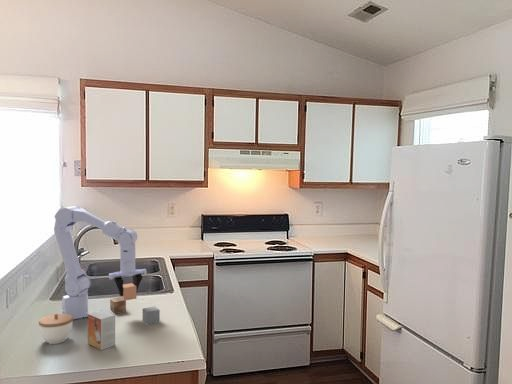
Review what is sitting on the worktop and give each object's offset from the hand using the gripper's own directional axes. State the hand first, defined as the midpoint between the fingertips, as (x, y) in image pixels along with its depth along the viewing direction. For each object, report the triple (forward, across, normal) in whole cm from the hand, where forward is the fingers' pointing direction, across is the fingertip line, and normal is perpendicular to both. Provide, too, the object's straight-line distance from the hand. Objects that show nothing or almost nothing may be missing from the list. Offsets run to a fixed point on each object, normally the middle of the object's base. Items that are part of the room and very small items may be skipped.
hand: (128, 294), depth 173 cm
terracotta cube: (+1, 0, 0) cm, 1 cm away
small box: (+10, -16, -21) cm, 28 cm away
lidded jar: (+10, -28, -9) cm, 31 cm away
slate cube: (+10, +6, -9) cm, 14 cm away
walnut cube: (+10, -1, +10) cm, 14 cm away
